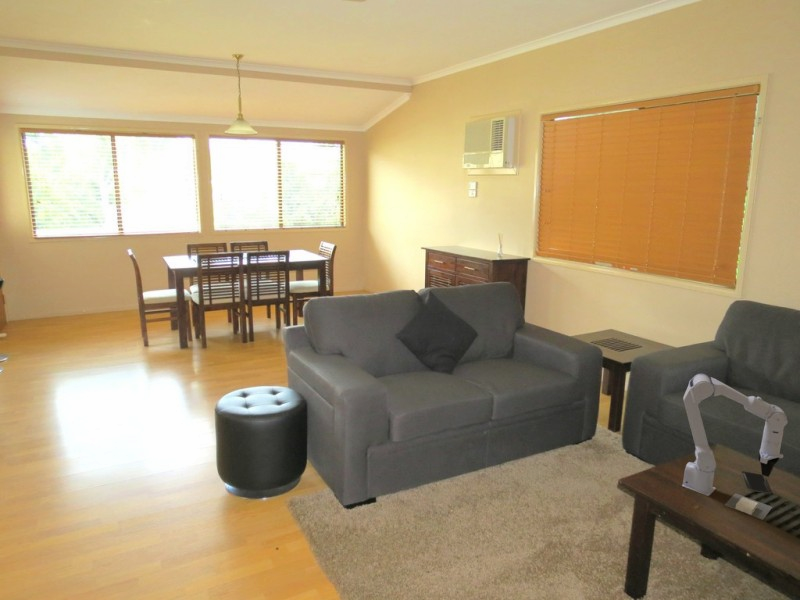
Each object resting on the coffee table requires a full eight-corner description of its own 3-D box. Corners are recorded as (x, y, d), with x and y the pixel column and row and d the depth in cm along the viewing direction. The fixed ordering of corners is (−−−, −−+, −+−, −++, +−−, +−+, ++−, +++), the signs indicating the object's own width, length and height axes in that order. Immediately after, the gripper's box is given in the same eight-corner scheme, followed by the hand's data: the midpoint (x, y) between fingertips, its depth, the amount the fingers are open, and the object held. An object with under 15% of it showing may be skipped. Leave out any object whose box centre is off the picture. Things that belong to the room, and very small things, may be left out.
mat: (724, 506, 200) (724, 505, 200) (735, 494, 208) (735, 493, 208) (762, 520, 191) (762, 519, 191) (772, 507, 200) (772, 506, 200)
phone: (748, 489, 211) (741, 470, 224) (747, 491, 211) (740, 473, 224) (772, 493, 208) (764, 475, 221) (772, 496, 208) (763, 477, 222)
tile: (741, 502, 202) (735, 509, 197) (742, 497, 202) (736, 504, 197) (757, 507, 199) (751, 515, 194) (758, 502, 198) (752, 510, 193)
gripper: (779, 450, 191) (773, 486, 194) (790, 438, 201) (783, 472, 204) (756, 443, 196) (750, 478, 199) (767, 431, 206) (761, 465, 209)
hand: (765, 475), depth 202 cm, fingers closed
